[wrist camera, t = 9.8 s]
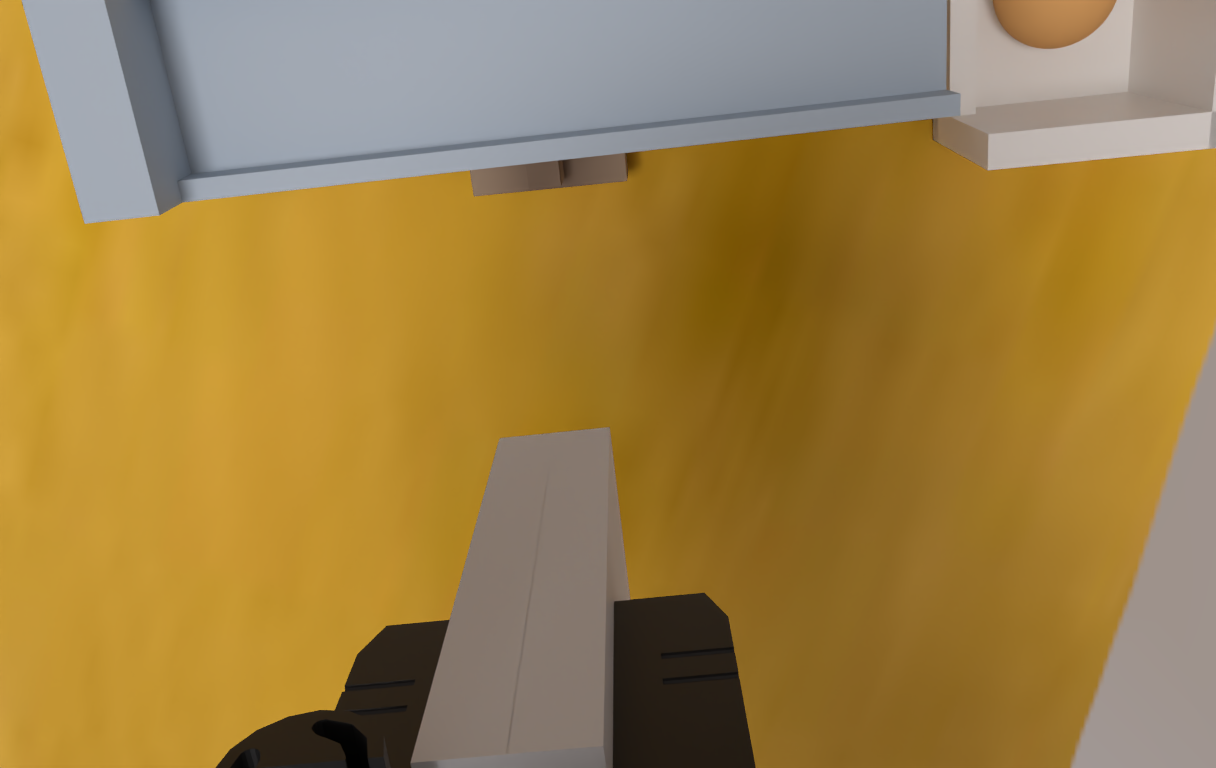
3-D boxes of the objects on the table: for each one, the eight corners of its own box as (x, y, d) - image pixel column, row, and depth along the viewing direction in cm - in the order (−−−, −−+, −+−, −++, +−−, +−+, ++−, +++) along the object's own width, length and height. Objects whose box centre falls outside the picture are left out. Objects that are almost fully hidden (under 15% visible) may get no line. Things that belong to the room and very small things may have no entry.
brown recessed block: (482, 184, 36) (466, 205, 33) (440, -102, 33) (418, -111, 30) (628, 170, 36) (626, 189, 33) (599, -121, 33) (594, -132, 30)
